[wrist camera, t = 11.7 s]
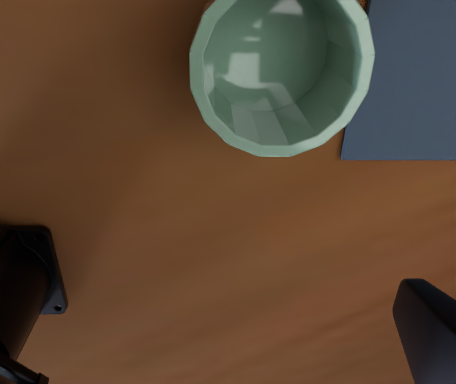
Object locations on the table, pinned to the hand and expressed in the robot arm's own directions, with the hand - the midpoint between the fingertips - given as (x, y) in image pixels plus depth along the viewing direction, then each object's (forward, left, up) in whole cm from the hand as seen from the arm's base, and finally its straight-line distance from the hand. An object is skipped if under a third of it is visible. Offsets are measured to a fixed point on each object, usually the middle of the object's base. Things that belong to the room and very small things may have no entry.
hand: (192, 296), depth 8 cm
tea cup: (+3, -3, -13) cm, 14 cm away
